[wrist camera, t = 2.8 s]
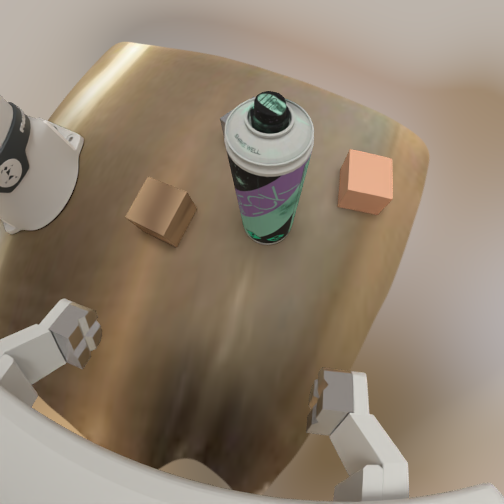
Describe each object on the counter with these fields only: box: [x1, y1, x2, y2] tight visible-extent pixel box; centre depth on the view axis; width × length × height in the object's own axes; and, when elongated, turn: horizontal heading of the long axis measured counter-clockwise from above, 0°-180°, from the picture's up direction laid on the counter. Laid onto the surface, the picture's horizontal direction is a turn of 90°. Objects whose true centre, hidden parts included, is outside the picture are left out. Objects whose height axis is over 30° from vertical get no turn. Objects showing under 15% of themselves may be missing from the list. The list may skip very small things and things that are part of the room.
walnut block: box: [125, 177, 197, 247], centre depth 32 cm, size 5×5×5 cm
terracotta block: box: [338, 149, 393, 215], centre depth 32 cm, size 5×5×5 cm
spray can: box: [224, 91, 314, 245], centre depth 24 cm, size 6×6×20 cm
